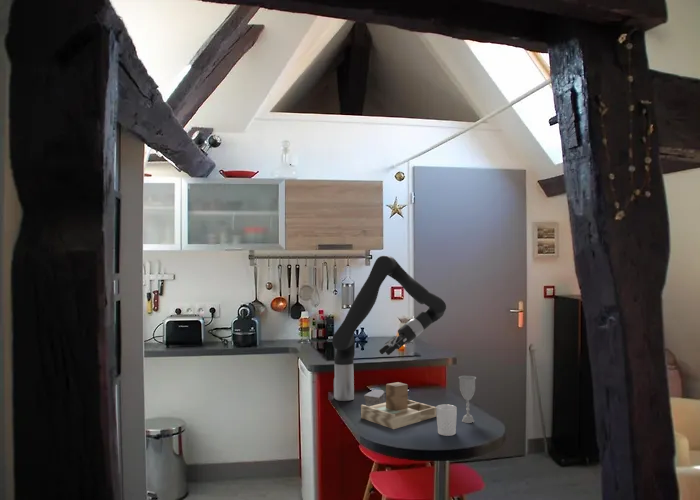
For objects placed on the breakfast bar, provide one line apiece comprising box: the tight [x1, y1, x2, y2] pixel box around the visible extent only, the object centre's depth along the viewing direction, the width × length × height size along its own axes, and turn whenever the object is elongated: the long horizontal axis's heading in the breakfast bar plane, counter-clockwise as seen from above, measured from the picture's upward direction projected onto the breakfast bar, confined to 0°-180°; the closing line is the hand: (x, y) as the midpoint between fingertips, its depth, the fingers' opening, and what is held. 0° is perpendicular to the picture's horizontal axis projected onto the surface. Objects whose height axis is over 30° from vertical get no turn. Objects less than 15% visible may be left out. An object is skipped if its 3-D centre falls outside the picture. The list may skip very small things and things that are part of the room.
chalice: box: [458, 375, 477, 424], centre depth 219 cm, size 7×7×18 cm
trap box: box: [360, 399, 437, 430], centre depth 225 cm, size 20×25×6 cm
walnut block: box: [385, 381, 409, 411], centre depth 225 cm, size 6×7×10 cm
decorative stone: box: [363, 389, 386, 406], centre depth 241 cm, size 15×7×10 cm
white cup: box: [435, 403, 458, 437], centre depth 204 cm, size 8×8×10 cm
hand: (383, 353), depth 230 cm, fingers open, 8 cm apart
